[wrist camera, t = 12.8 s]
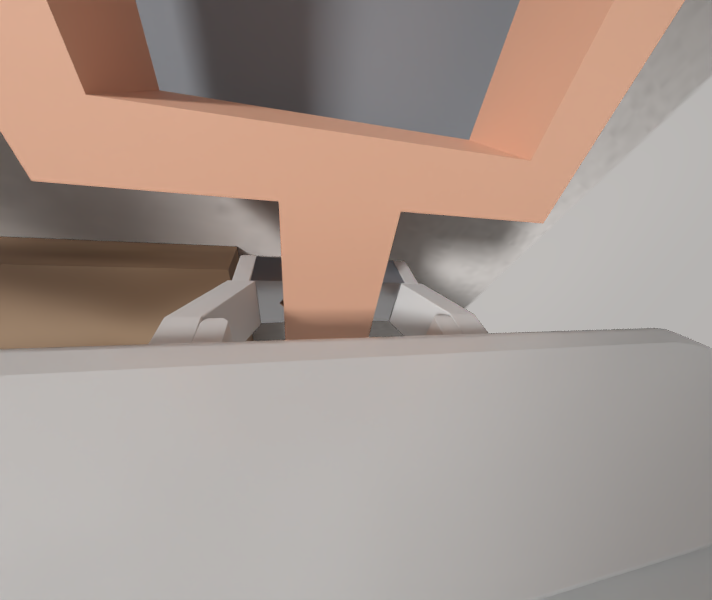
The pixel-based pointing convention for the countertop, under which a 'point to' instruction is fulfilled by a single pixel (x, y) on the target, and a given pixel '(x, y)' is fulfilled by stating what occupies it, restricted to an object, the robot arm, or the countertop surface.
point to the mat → (334, 56)
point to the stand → (100, 289)
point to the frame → (319, 137)
